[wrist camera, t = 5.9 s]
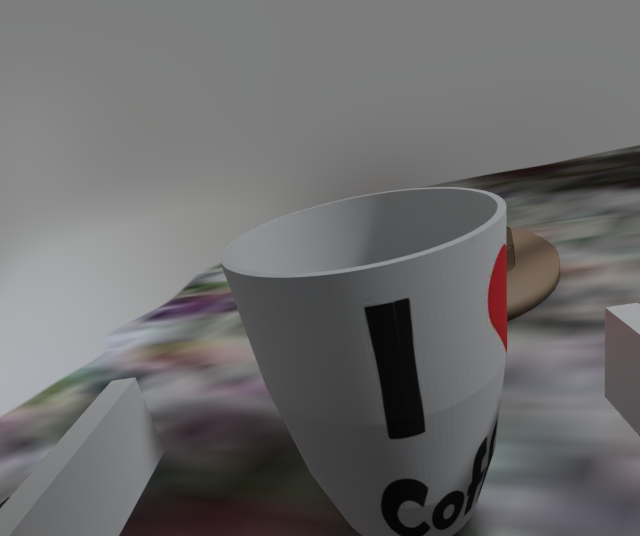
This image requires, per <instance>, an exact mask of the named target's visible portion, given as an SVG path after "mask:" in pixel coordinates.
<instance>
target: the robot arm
mask: <svg viewBox="0 0 640 536" xmlns="http://www.w3.org/2000/svg"><path fill="white" fill-rule="evenodd" d="M605 397H606V398H607V399H608V401H609V402H610V403H611V404H612V405H613V406H614V407H615V408H616V410H617V411H618V412H619V413H620V414H621V415H622V416H623V418H624V419H625V420H626V421H627V422H628V423H629V424H630V426H631V427H632V428H633V429H634V430H635V431H636V432H637V434H638V435H639V436H640V304H638V303H632V304H626V305H619V306H612V307H605ZM164 452H165V450H164V448H163V445H162V443H161V440H160V438H159V435H158V433H157V430H156V428H155V425H154V423H153V420H152V418H151V415H150V413H149V410H148V408H147V406H146V403H145V401H144V398H143V396H142V393H141V391H140V388H139V386H138V383H137V381H136V378H129V379H122V380H115V381H111V382H110V383H109V385H108V386H107V387H106V388H105V389H104V390H103V391H102V393H101V394H100V395H99V396H98V397H97V398H96V399H95V401H94V402H93V403H92V404H91V405H90V406H89V407H88V409H87V410H86V411H85V412H84V413H83V414H82V415H81V417H80V418H79V419H78V420H77V421H76V422H75V424H74V425H73V426H72V427H71V428H70V429H69V430H68V432H67V433H66V434H65V435H64V436H63V437H62V438H61V440H60V441H59V442H58V443H57V444H56V445H55V446H54V448H53V449H52V450H51V451H50V452H49V453H48V454H47V456H46V457H45V458H44V459H43V460H42V461H41V462H40V464H39V465H38V466H37V467H36V468H35V469H34V470H33V472H32V473H31V474H30V475H29V476H28V477H27V479H26V480H25V481H24V482H23V483H22V484H21V485H20V487H19V488H18V489H17V490H16V491H15V492H14V493H13V495H12V496H11V497H9V498H7V499H6V500H5V501H4V502H2V503H1V504H0V536H119V535H120V533H121V531H122V529H123V527H124V526H125V524H126V522H127V520H128V518H129V516H130V514H131V513H132V511H133V509H134V507H135V505H136V503H137V502H138V500H139V498H140V496H141V494H142V492H143V490H144V489H145V487H146V485H147V483H148V481H149V479H150V477H151V476H152V474H153V472H154V470H155V468H156V466H157V465H158V463H159V461H160V459H161V457H162V455H163V453H164Z"/></svg>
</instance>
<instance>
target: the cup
mask: <svg viewBox="0 0 640 536" xmlns="http://www.w3.org/2000/svg"><path fill="white" fill-rule="evenodd" d="M220 262H221V265H222V267H223V270H224V273H225V276H226V278H227V281H228V284H229V286H230V289H231V292H232V295H233V297H234V300H235V303H236V306H237V308H238V311H239V314H240V316H241V319H242V322H243V325H244V327H245V330H246V333H247V336H248V338H249V341H250V344H251V346H252V349H253V352H254V355H255V357H256V360H257V363H258V366H259V368H260V371H261V374H262V377H263V379H264V382H265V385H266V387H267V389H268V391H269V393H270V395H271V397H272V399H273V401H274V403H275V405H276V407H277V409H278V411H279V413H280V415H281V417H282V419H283V421H284V423H285V425H286V426H287V428H288V430H289V432H290V434H291V436H292V438H293V440H294V442H295V444H296V446H297V448H298V450H299V452H300V454H301V456H302V458H303V460H304V462H305V464H306V466H307V468H308V470H309V471H310V473H311V475H312V476H313V477H314V479H315V480H316V481H317V483H318V484H319V485H320V487H321V488H322V489H323V491H324V492H325V493H326V494H327V496H328V497H329V498H330V500H331V501H332V502H333V504H334V505H335V506H336V508H337V509H338V510H339V512H340V513H341V514H342V515H343V517H344V518H345V519H346V521H347V522H348V523H349V525H350V526H351V527H352V528H353V529H354V530H355V531H356V532H358V533H359V534H360V535H362V536H453V535H454V534H455V533H457V532H458V531H459V530H460V529H461V528H462V527H463V526H464V525H465V524H466V523H467V522H468V520H469V519H470V517H471V516H472V514H473V512H474V510H475V507H476V504H477V501H478V498H479V495H480V492H481V489H482V486H483V483H484V480H485V477H486V474H487V471H488V468H489V465H490V461H491V458H492V455H493V452H494V449H495V444H496V436H497V428H498V419H499V411H500V403H501V395H502V387H503V378H504V370H505V362H506V354H507V249H506V203H505V201H504V200H503V199H502V198H501V197H499V196H498V195H496V194H493V193H490V192H487V191H483V190H478V189H470V188H457V187H433V188H416V189H406V190H396V191H388V192H382V193H375V194H368V195H363V196H357V197H352V198H347V199H343V200H339V201H334V202H330V203H326V204H322V205H318V206H314V207H311V208H307V209H304V210H300V211H298V212H294V213H291V214H288V215H285V216H283V217H280V218H277V219H274V220H272V221H269V222H267V223H264V224H262V225H260V226H258V227H255V228H253V229H251V230H250V231H248V232H246V233H244V234H242V235H241V236H239V237H237V238H236V239H234V240H233V241H232V242H230V243H229V244H228V245H227V246H226V247H225V248H224V249H223V251H222V252H221V255H220Z"/></svg>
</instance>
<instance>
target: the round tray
mask: <svg viewBox="0 0 640 536" xmlns="http://www.w3.org/2000/svg"><path fill="white" fill-rule="evenodd" d="M506 249H507V321H508V320H511V319H513V318H515V317H518V316H520V315H522V314H523V313H525V312H527V311H529V310H531V309H532V308H534V307H536V306H537V305H538V304H540V303H541V302H542V301H544V300H545V299H546V298H547V297H548V296H549V295H550V294H551V293H552V292H553V291H554V289H555V287H556V286H557V284H558V282H559V277H560V259H559V254H558V252H557V250H556V249H555V247H554V246H553V245H552V244H550V243H549V242H548V241H546V240H545V239H543V238H541V237H539V236H537V235H534V234H532V233H529V232H526V231H522V230H518V229H514V228H509V227H506Z"/></svg>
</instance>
